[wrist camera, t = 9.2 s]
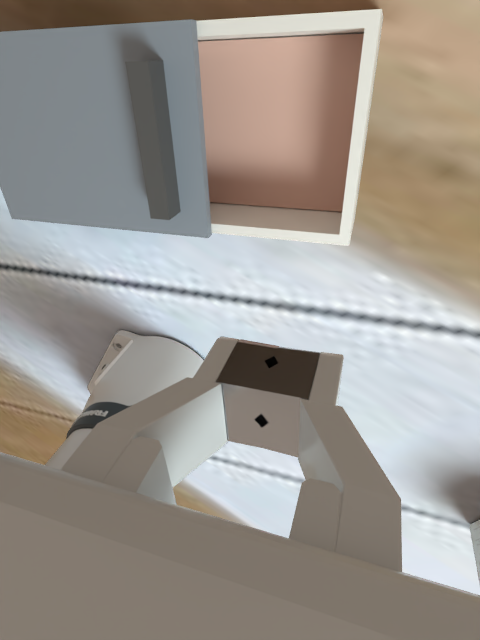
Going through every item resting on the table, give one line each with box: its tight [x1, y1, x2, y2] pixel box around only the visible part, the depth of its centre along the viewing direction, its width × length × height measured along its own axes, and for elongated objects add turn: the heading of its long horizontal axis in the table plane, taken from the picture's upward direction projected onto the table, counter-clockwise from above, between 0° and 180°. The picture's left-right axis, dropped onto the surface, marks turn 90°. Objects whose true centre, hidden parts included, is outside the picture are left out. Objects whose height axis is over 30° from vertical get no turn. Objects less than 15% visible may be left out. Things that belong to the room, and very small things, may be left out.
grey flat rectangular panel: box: [0, 19, 212, 238], centre depth 30 cm, size 20×14×3 cm
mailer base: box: [196, 9, 383, 246], centre depth 30 cm, size 20×14×6 cm
